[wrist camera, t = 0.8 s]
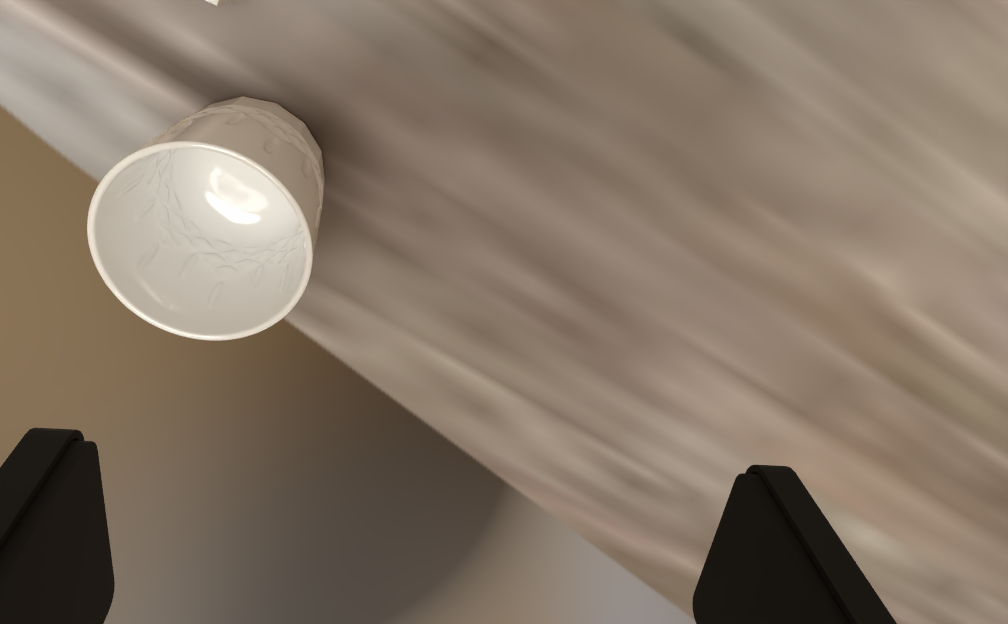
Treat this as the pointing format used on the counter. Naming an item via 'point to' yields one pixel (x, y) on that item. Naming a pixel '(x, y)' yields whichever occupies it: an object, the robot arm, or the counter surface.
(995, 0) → the counter surface
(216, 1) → the white bin
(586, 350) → the counter surface
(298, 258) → the white cup
